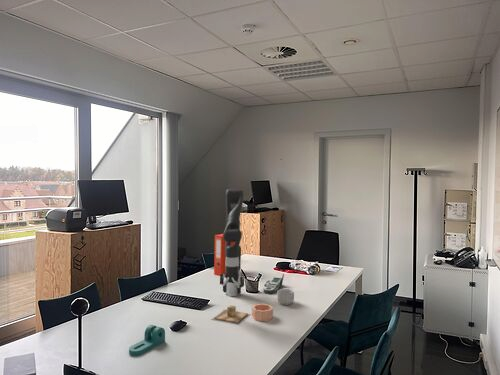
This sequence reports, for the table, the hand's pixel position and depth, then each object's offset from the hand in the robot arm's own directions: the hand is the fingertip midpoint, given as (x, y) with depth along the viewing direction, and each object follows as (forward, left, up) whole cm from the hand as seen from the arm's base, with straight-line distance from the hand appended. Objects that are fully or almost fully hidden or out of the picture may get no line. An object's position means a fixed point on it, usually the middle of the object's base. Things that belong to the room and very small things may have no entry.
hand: (231, 293), depth 208 cm
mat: (0, 0, -14) cm, 14 cm away
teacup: (+20, +37, -14) cm, 44 cm away
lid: (0, 0, -14) cm, 14 cm away
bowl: (+16, +7, -14) cm, 22 cm away
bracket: (-20, -49, -14) cm, 55 cm away
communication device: (+2, +60, -15) cm, 61 cm away
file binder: (-47, +82, -14) cm, 96 cm away
